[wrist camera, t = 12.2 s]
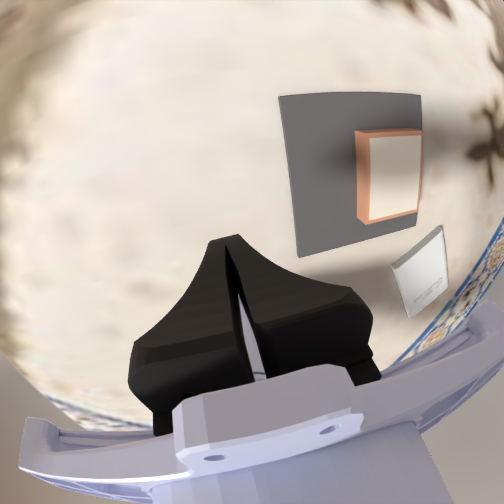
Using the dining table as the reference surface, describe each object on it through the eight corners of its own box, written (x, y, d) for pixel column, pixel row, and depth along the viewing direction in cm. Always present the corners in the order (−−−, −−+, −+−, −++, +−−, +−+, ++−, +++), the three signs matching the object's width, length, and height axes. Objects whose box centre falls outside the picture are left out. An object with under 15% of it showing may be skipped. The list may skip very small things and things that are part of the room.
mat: (413, 224, 26) (415, 225, 26) (297, 255, 25) (299, 258, 25) (417, 94, 18) (420, 95, 18) (278, 96, 17) (279, 96, 17)
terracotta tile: (356, 217, 24) (408, 205, 24) (366, 225, 22) (418, 212, 23) (354, 130, 19) (411, 127, 20) (366, 133, 18) (423, 131, 18)
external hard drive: (435, 223, 28) (443, 280, 34) (388, 262, 29) (405, 313, 35) (443, 229, 26) (449, 286, 33) (395, 270, 28) (410, 320, 34)
